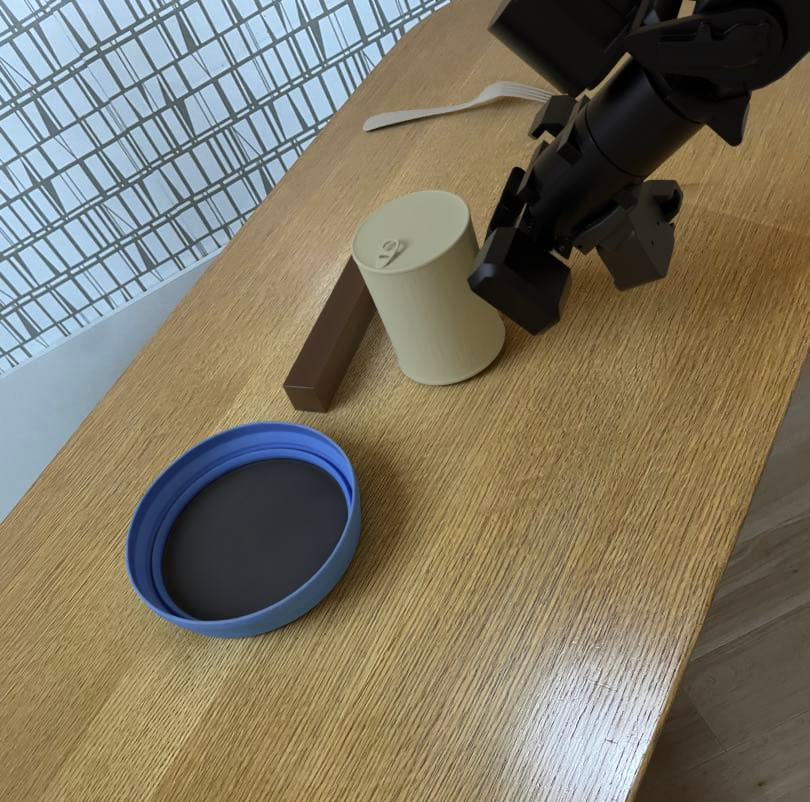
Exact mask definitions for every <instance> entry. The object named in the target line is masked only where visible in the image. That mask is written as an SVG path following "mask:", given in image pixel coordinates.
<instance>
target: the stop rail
mask: <svg viewBox="0 0 810 802" xmlns="http://www.w3.org/2000/svg"><path fill="white" fill-rule="evenodd" d="M376 310H378V309H377V307H376V305H375V303H374V300H373V298H372V296H371V294H370V291H369V289H368V287H367V285H366V282H365V280H364V278H363V276H362V274H361V271H360V269H359V267H358V265H357V263H356V262H355V260H354V258H353V256H352V253H351V254H350V256H349V258H348V260H347V262H346V264H345V265H344V267H343V270H342V272H341V273H340V275H339V277H338V279H337V281H336V282H335V284H334V287H333V288H332V291H330V294H329V296H328V298H327V300H326V302H325V304H324V306H323V307H322V310H321V311H320V313H319V315H318V317H317V319H316V321H315V323H314V325H313V327H312V329H311V331H310V332H309V334H308V336H307V337H306V340H305V341H304V343H303V345H302V348H301V350H300V351H299V353H298V355H297V357H296V359H295V361H294V362H293V364H292V366H291V368H290V370H289V372H288V374H287V375H286V378H285V380H284V381H283V383H282V388H283V390H284V392H285V394H286V396H287V397H288V399H289V401H290V403H291V405H292V407H293V409H294V411H300V412H309V413H320V414H326V413H327V412H328V410H329V408H330V406H331V404H332V401H333V400H334V397H335V396H336V393H337V391H338V390H339V387H340V385H341V383H342V382H343V379H344V377H345V376H346V373H347V371H348V369H349V367H350V365H351V363H352V360H353V358H354V356H355V354H356V352H357V350H358V348H359V346H360V344H361V342H362V340H363V338H364V335H365V334H366V332H367V330H368V327H369V325H370V323H371V321H372V319H373V316H374V315H375V312H376Z"/></svg>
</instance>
